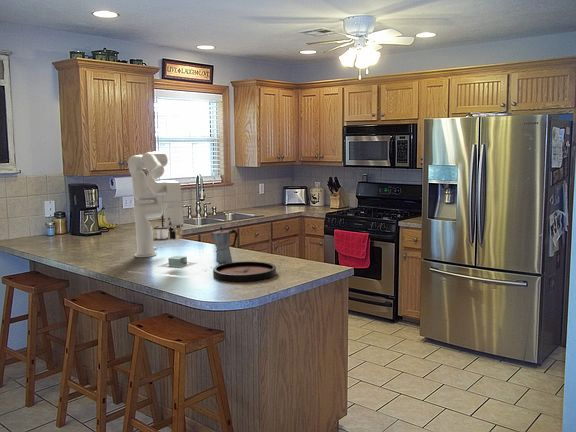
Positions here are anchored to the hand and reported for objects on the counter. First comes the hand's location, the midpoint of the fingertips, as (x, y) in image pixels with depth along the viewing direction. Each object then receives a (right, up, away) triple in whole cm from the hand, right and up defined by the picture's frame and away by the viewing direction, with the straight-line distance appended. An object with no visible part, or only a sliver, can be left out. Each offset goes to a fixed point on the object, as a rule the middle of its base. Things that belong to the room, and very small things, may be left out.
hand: (175, 237), depth 301 cm
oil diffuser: (-29, -5, +98) cm, 103 cm away
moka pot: (+25, -14, +10) cm, 31 cm away
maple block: (0, -1, 0) cm, 1 cm away
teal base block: (+1, -15, +2) cm, 15 cm away
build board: (+1, -16, +2) cm, 16 cm away
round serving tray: (+39, -18, -21) cm, 48 cm away
